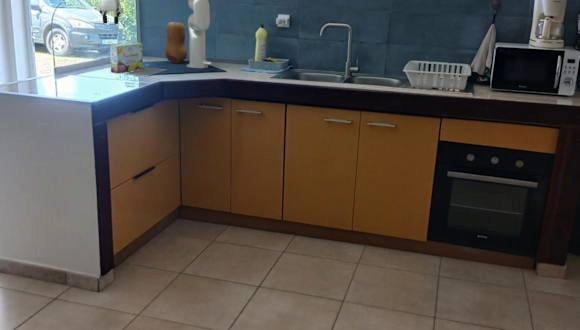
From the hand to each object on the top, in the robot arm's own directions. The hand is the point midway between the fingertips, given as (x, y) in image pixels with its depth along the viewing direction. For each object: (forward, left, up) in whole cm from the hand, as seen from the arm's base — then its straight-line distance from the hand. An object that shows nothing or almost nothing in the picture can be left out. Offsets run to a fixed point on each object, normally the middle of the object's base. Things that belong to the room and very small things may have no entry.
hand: (110, 23), depth 333 cm
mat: (-21, 0, -26) cm, 33 cm away
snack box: (-9, 0, -26) cm, 28 cm away
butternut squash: (-20, -41, -26) cm, 52 cm away
